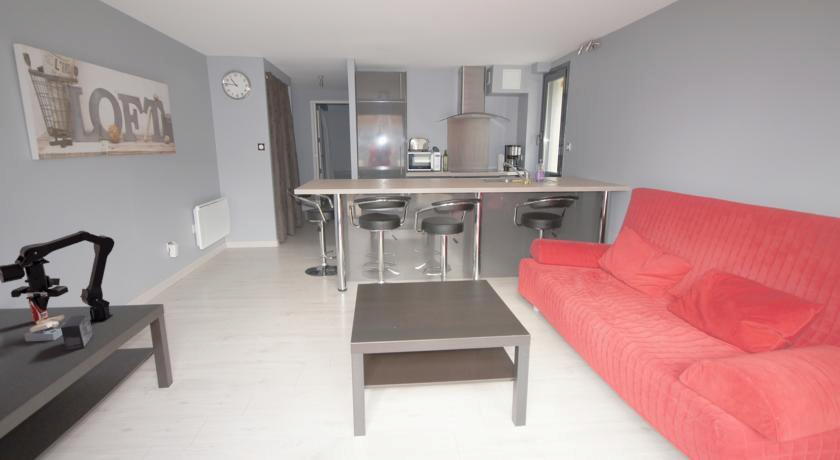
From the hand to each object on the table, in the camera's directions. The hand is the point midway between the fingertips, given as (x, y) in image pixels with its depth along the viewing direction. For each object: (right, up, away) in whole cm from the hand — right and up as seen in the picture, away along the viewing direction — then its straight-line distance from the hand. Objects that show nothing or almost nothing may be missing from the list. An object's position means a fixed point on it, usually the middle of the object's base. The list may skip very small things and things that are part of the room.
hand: (44, 310), depth 172 cm
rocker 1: (0, -7, -1) cm, 7 cm away
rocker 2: (-1, -6, +2) cm, 6 cm away
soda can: (-16, -8, +16) cm, 24 cm away
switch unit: (-1, -11, +4) cm, 12 cm away
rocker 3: (-1, -5, +6) cm, 8 cm away
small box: (+18, -13, -3) cm, 23 cm away
